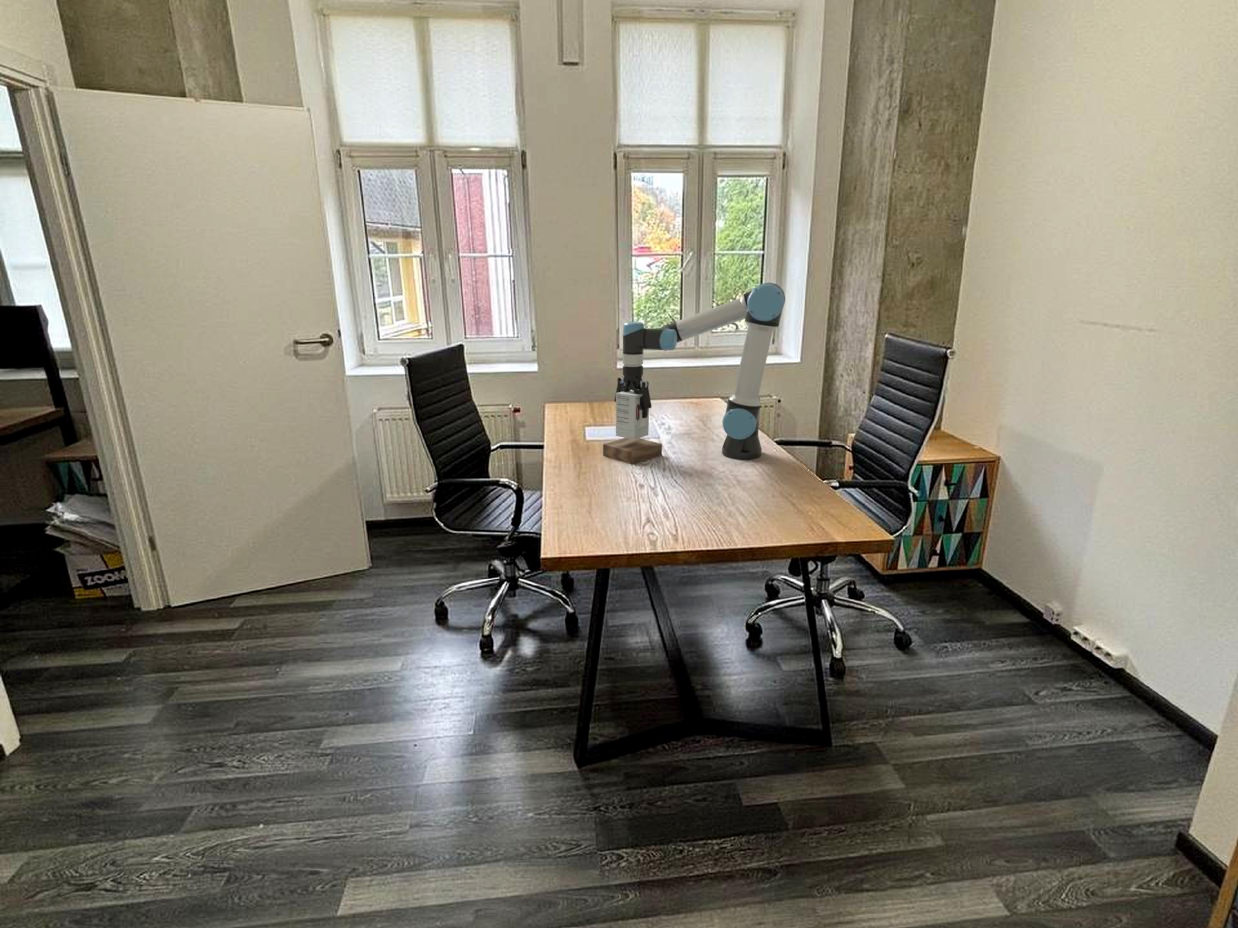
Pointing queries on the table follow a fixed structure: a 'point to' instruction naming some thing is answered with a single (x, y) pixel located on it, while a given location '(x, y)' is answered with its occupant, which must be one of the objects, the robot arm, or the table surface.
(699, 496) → the table surface
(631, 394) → the supplement box
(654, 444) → the walnut block
